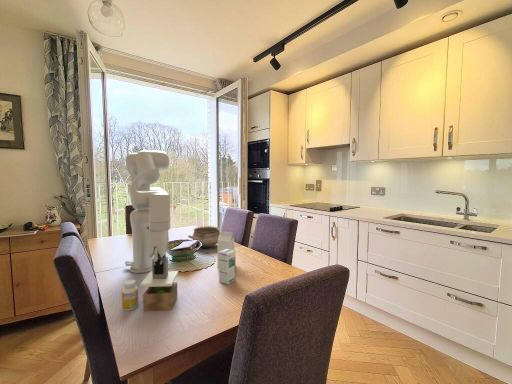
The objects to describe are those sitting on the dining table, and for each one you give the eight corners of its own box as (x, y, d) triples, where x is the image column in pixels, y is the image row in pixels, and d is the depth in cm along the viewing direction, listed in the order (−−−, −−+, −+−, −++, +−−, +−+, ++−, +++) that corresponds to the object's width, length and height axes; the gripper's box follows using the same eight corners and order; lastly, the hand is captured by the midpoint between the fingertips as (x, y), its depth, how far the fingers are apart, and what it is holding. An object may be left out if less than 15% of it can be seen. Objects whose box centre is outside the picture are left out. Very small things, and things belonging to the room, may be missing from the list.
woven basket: (220, 241, 182) (220, 225, 181) (228, 248, 165) (228, 230, 164) (185, 245, 172) (185, 227, 171) (190, 253, 155) (190, 234, 154)
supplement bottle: (126, 303, 95) (125, 279, 94) (140, 303, 95) (140, 278, 94) (119, 311, 89) (118, 285, 89) (135, 310, 90) (134, 285, 89)
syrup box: (228, 284, 111) (228, 253, 110) (218, 281, 115) (218, 251, 113) (235, 280, 116) (236, 250, 115) (226, 277, 119) (226, 248, 118)
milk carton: (230, 269, 129) (230, 234, 128) (217, 268, 130) (217, 233, 129) (234, 264, 136) (234, 230, 134) (221, 263, 137) (221, 230, 136)
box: (143, 311, 90) (142, 295, 89) (152, 297, 100) (151, 282, 99) (171, 309, 91) (171, 294, 90) (177, 296, 101) (177, 282, 100)
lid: (140, 286, 89) (139, 264, 88) (150, 273, 100) (150, 253, 99) (171, 286, 90) (171, 263, 89) (178, 273, 101) (178, 253, 100)
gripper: (156, 220, 101) (156, 263, 102) (141, 230, 84) (142, 282, 86) (174, 220, 101) (175, 263, 103) (164, 230, 85) (164, 281, 87)
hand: (160, 271), depth 95 cm, fingers closed on lid, 3 cm apart
